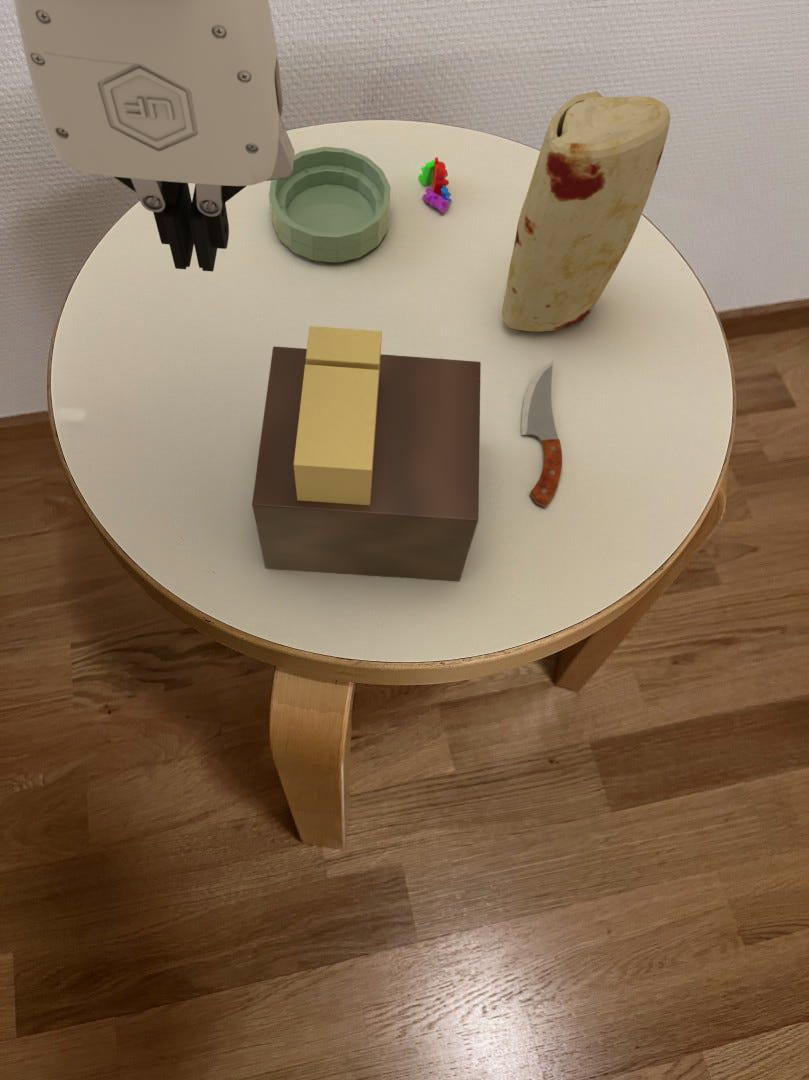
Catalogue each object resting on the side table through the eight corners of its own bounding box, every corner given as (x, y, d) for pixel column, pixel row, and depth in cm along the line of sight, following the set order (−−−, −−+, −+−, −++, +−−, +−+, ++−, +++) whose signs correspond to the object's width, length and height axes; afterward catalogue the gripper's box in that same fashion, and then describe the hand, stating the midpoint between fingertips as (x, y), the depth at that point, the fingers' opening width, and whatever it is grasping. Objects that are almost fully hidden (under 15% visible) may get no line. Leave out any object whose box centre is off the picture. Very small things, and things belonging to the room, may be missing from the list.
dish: (266, 261, 76) (263, 231, 73) (279, 174, 80) (276, 142, 77) (384, 270, 76) (386, 241, 73) (391, 183, 80) (393, 152, 77)
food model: (516, 360, 73) (572, 163, 55) (479, 299, 76) (521, 92, 57) (619, 324, 75) (705, 123, 57) (580, 266, 78) (651, 56, 60)
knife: (519, 357, 72) (556, 358, 73) (518, 361, 73) (555, 363, 73) (525, 503, 67) (565, 505, 67) (523, 507, 67) (563, 508, 67)
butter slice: (308, 400, 59) (305, 358, 54) (311, 368, 60) (309, 325, 56) (377, 405, 59) (379, 364, 55) (379, 373, 60) (382, 330, 56)
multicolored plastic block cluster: (453, 216, 79) (458, 185, 76) (423, 217, 79) (426, 186, 76) (447, 174, 81) (451, 142, 78) (417, 175, 81) (420, 143, 78)
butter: (297, 500, 55) (293, 464, 51) (307, 405, 58) (305, 363, 54) (370, 505, 56) (372, 470, 52) (377, 410, 59) (379, 369, 54)
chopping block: (264, 568, 64) (251, 504, 55) (282, 425, 69) (272, 345, 60) (459, 581, 65) (478, 520, 56) (463, 438, 70) (480, 361, 61)
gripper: (-121, -66, 31) (43, 294, 47) (324, -26, 31) (332, 315, 48) (-62, -189, 34) (72, 188, 51) (341, -152, 34) (342, 210, 51)
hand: (198, 249), depth 49 cm, fingers closed
